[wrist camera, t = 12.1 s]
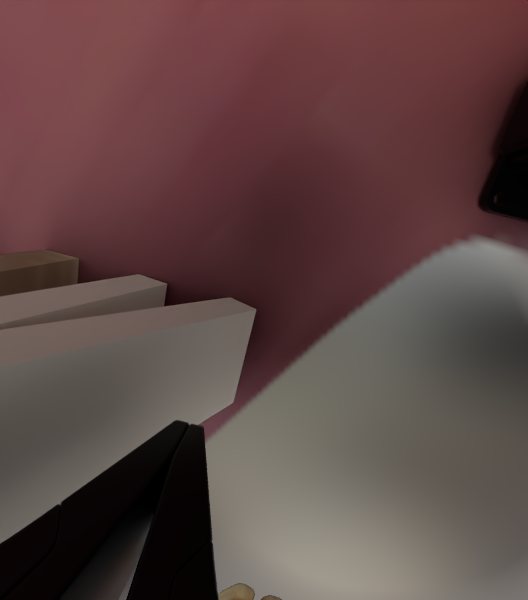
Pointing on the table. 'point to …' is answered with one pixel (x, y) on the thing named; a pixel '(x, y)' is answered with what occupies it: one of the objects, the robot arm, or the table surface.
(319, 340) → the table surface
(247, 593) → the grandmother figurine
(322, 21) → the table surface
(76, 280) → the domino
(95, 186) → the table surface
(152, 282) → the domino
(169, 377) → the domino
